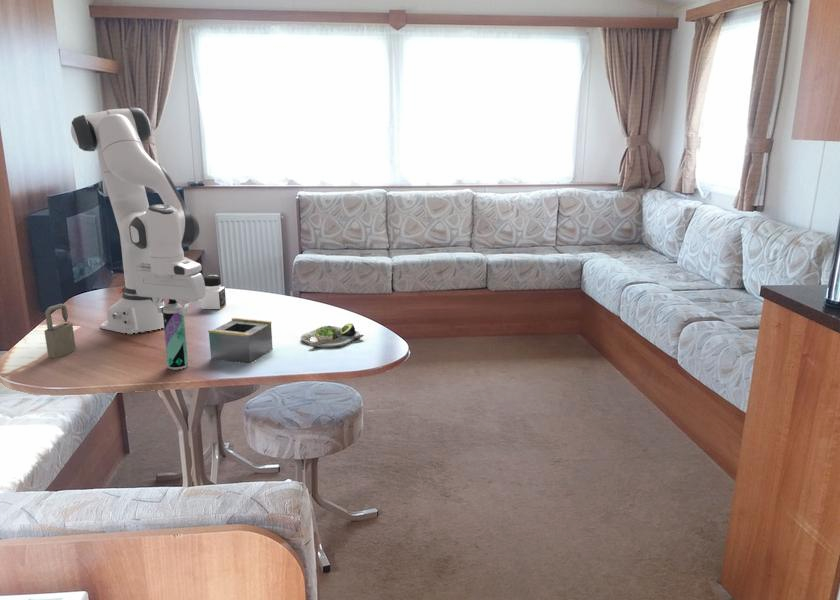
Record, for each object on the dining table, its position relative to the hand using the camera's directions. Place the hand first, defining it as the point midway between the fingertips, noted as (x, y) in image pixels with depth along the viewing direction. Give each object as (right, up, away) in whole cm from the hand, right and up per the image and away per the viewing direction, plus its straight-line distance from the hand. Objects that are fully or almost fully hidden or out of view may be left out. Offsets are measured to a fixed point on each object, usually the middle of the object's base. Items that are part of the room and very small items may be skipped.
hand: (172, 313), depth 185 cm
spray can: (0, -15, +4) cm, 16 cm away
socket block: (+16, -13, +15) cm, 25 cm away
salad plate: (+41, -9, +29) cm, 51 cm away
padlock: (-39, -12, +15) cm, 43 cm away
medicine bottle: (-8, +1, +64) cm, 64 cm away
